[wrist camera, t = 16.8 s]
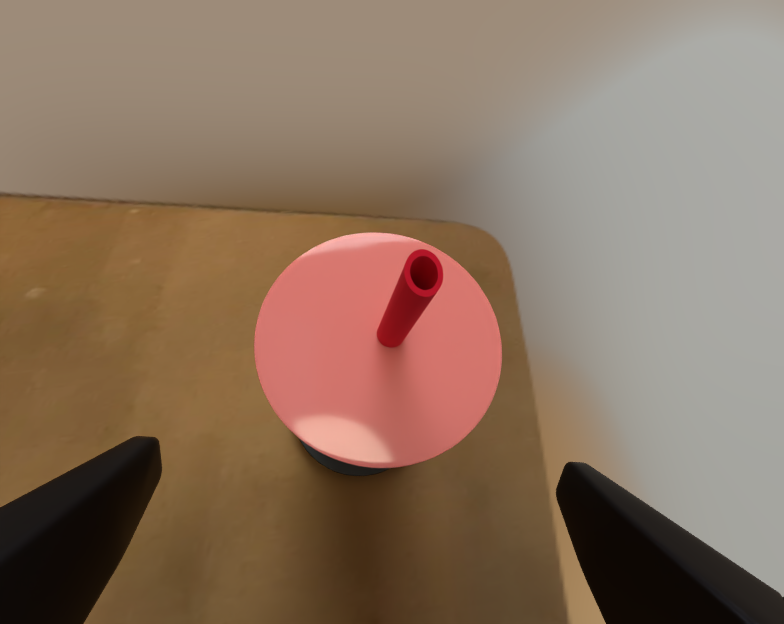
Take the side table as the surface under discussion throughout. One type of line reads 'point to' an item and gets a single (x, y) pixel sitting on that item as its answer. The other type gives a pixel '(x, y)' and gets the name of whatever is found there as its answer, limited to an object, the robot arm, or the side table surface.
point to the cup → (378, 350)
